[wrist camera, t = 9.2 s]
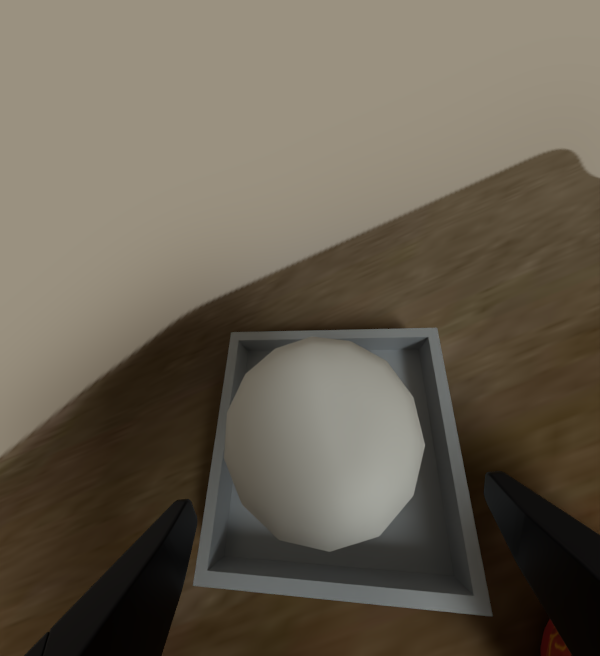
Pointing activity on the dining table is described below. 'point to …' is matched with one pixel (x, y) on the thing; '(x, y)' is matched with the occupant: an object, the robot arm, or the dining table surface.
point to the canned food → (553, 642)
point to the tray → (402, 533)
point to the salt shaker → (323, 443)
